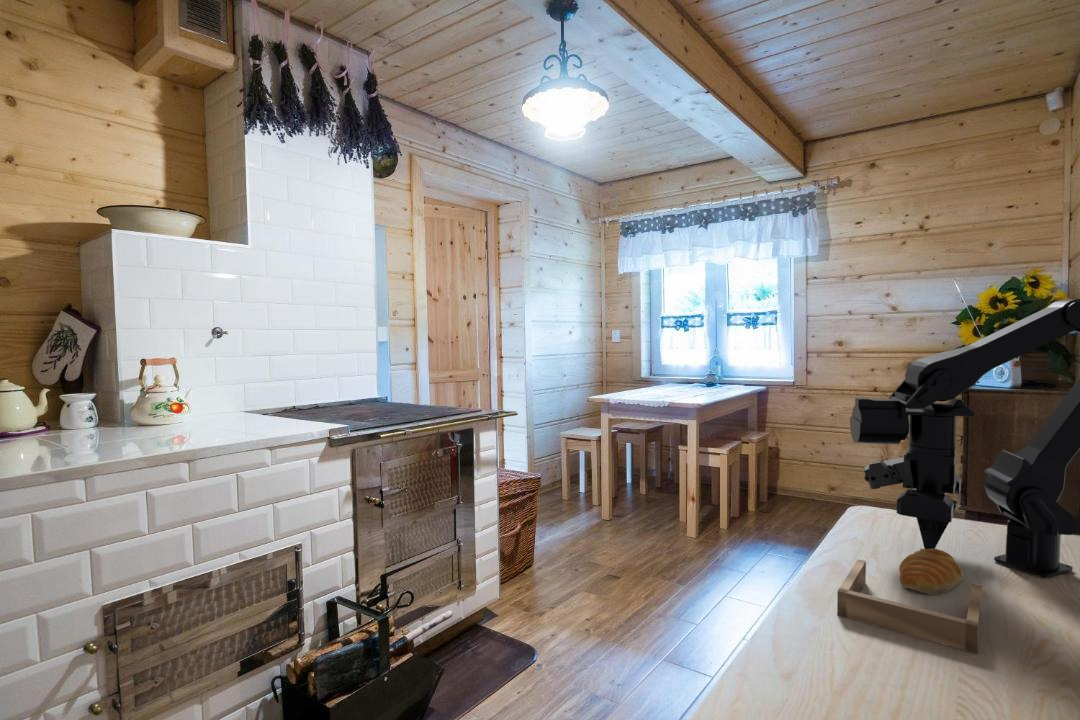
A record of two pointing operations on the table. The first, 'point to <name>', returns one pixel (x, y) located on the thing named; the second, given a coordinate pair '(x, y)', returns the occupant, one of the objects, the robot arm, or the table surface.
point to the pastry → (930, 571)
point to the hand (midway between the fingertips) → (929, 549)
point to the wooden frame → (909, 614)
